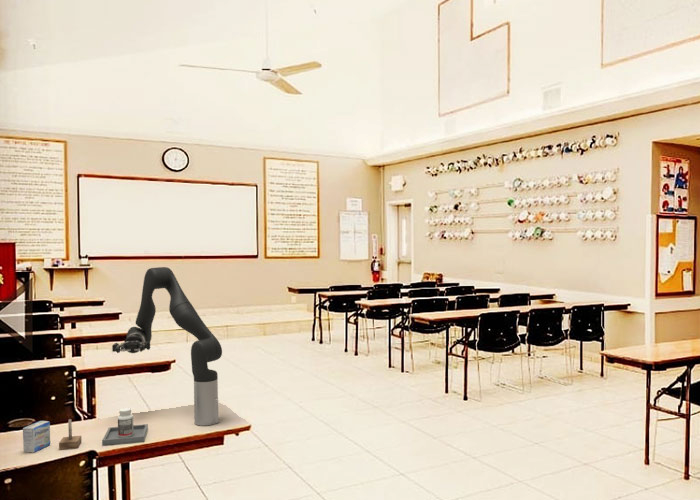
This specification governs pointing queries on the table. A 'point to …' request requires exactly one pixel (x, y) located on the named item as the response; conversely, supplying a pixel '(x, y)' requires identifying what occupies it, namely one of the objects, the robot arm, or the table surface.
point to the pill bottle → (125, 423)
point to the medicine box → (36, 436)
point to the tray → (114, 439)
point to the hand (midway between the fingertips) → (129, 349)
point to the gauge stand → (70, 439)
